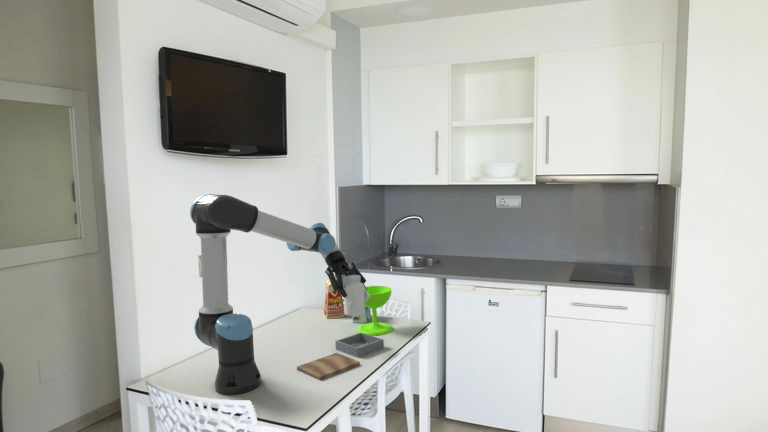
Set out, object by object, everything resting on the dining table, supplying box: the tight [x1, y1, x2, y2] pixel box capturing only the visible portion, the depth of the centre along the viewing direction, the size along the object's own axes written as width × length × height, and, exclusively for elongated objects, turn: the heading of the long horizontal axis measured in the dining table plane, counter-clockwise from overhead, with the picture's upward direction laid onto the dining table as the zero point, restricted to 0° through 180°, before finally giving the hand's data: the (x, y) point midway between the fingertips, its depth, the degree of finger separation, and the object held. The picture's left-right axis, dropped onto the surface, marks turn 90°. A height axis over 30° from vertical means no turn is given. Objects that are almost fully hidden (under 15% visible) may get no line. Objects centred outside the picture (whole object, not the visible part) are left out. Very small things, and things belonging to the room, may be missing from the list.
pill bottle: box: [343, 275, 365, 317], centre depth 202 cm, size 8×8×15 cm
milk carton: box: [323, 278, 346, 319], centre depth 253 cm, size 9×9×20 cm
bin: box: [335, 332, 385, 359], centre depth 206 cm, size 14×14×4 cm
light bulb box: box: [351, 307, 372, 324], centre depth 244 cm, size 11×7×11 cm, turn 168°
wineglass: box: [356, 285, 394, 337], centre depth 228 cm, size 16×16×18 cm
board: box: [296, 352, 361, 381], centre depth 188 cm, size 18×14×1 cm
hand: (359, 301), depth 199 cm, fingers closed on pill bottle, 8 cm apart
